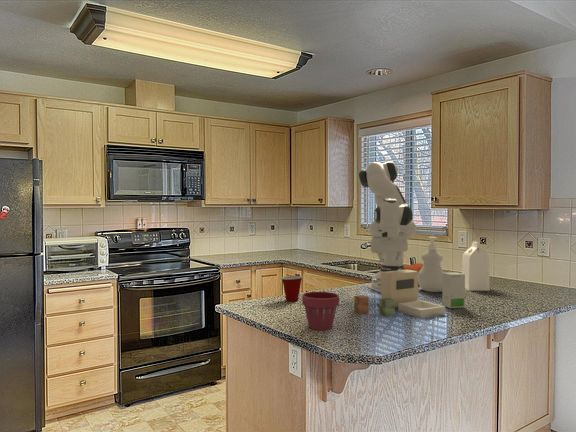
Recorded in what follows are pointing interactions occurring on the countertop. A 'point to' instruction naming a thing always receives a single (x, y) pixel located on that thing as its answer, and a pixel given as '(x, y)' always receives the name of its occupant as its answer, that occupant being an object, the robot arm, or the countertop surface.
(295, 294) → the plastic cup
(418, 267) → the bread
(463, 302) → the skincare box
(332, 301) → the plant pot
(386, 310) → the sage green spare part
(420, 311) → the parts tray
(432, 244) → the soap bottle
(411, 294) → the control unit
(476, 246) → the milk
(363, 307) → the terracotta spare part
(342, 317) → the countertop surface
